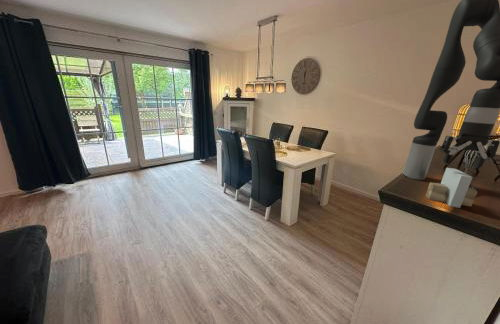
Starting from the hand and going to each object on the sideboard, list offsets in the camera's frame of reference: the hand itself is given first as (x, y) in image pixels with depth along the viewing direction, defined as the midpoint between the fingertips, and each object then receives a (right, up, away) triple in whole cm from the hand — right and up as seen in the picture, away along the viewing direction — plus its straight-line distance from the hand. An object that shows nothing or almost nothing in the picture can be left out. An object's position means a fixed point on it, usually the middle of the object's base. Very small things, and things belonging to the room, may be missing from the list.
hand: (460, 165), depth 74 cm
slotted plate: (-1, -14, +4) cm, 14 cm away
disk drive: (+12, -12, +15) cm, 23 cm away
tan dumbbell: (-1, -14, +4) cm, 14 cm away
